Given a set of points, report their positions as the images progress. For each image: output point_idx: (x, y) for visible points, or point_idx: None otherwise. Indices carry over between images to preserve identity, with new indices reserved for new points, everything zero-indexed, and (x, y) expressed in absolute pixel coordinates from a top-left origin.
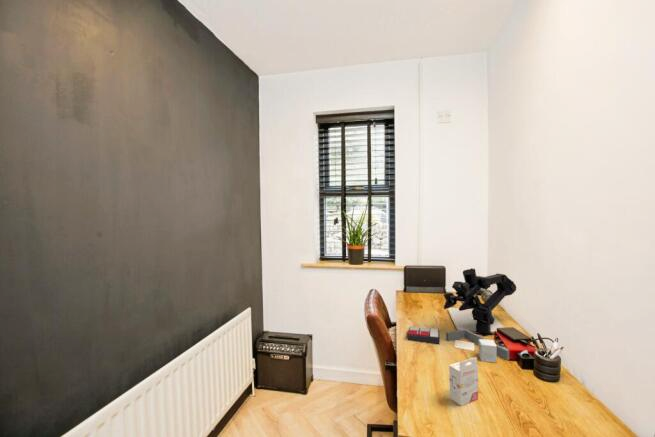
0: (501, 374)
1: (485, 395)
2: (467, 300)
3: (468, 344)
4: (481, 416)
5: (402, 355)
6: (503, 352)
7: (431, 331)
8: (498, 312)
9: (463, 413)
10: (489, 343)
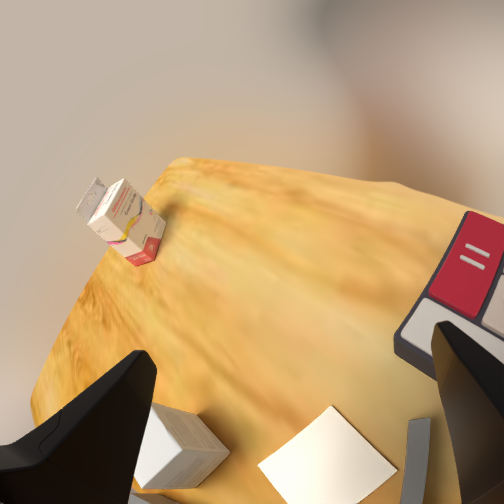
0: None
1: (131, 287)
2: (5, 449)
3: (319, 495)
4: None
5: (347, 179)
6: (150, 499)
7: (479, 335)
8: None
9: None
10: None
